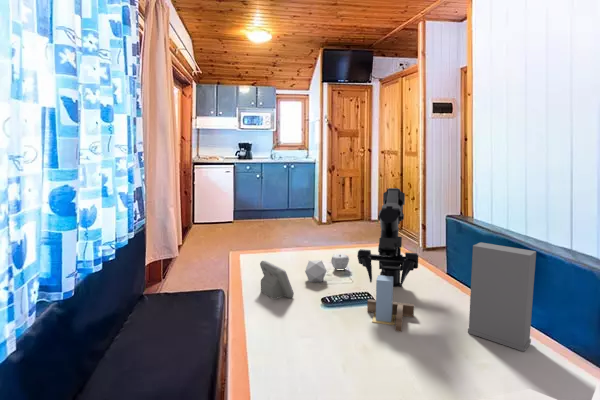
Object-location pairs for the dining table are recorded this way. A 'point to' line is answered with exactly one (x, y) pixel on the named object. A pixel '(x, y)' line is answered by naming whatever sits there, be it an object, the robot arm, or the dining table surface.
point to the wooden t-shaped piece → (393, 313)
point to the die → (315, 271)
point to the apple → (340, 261)
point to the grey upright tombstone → (502, 294)
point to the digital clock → (275, 281)
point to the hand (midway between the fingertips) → (385, 283)
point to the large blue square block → (384, 298)
